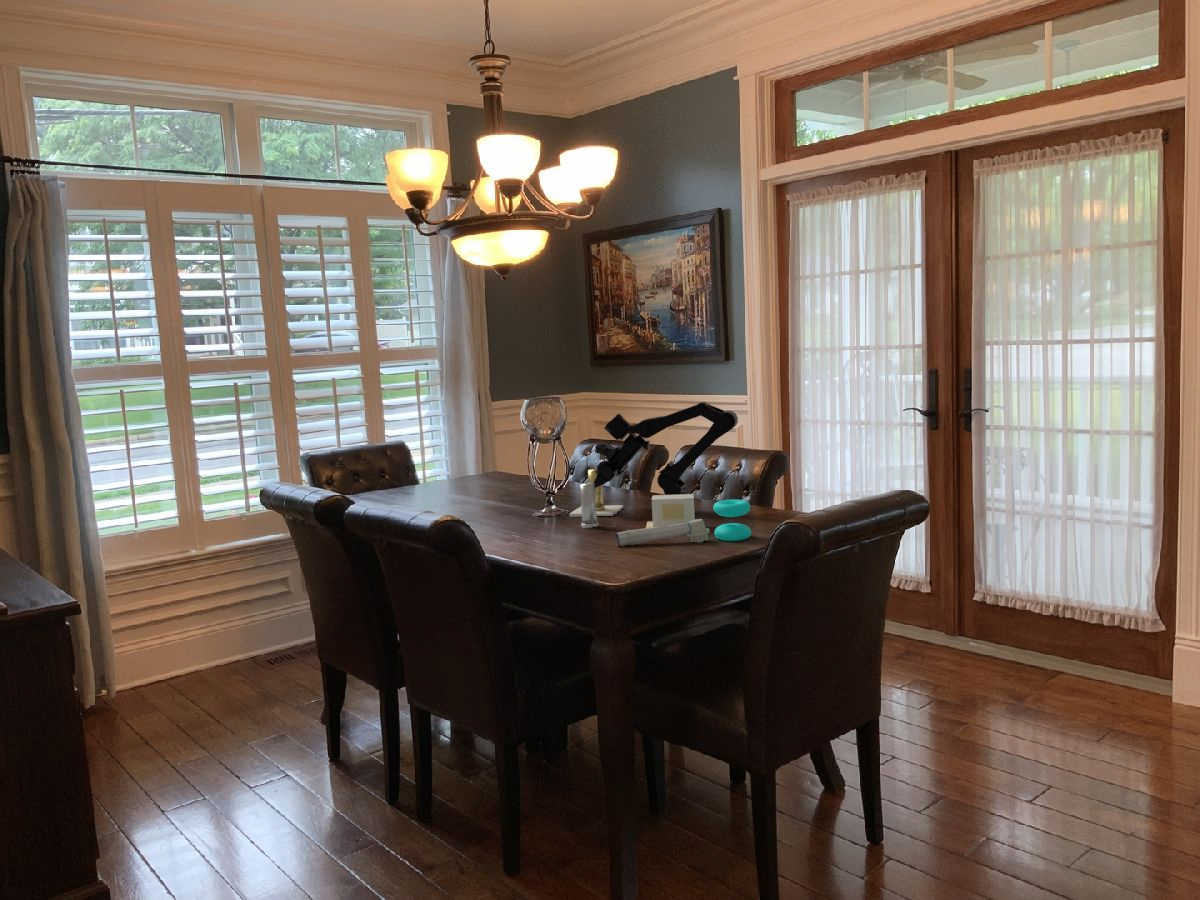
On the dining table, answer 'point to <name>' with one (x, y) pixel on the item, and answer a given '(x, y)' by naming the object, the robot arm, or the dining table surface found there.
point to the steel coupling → (588, 505)
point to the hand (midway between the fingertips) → (596, 485)
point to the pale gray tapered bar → (665, 533)
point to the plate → (608, 511)
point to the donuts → (732, 529)
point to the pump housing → (671, 510)
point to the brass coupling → (596, 489)
